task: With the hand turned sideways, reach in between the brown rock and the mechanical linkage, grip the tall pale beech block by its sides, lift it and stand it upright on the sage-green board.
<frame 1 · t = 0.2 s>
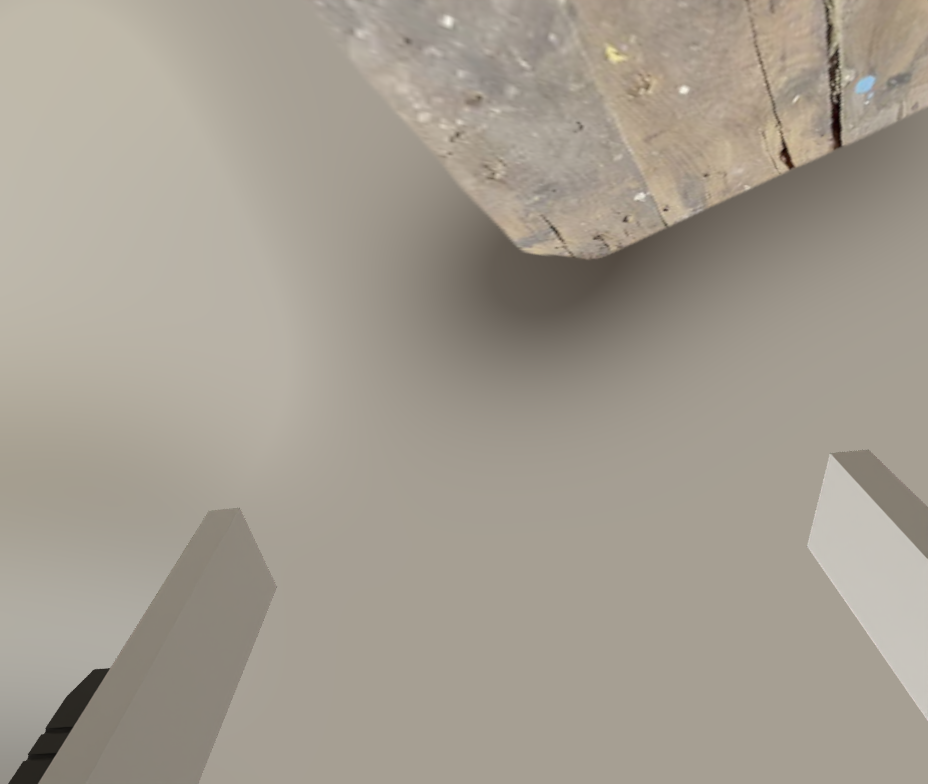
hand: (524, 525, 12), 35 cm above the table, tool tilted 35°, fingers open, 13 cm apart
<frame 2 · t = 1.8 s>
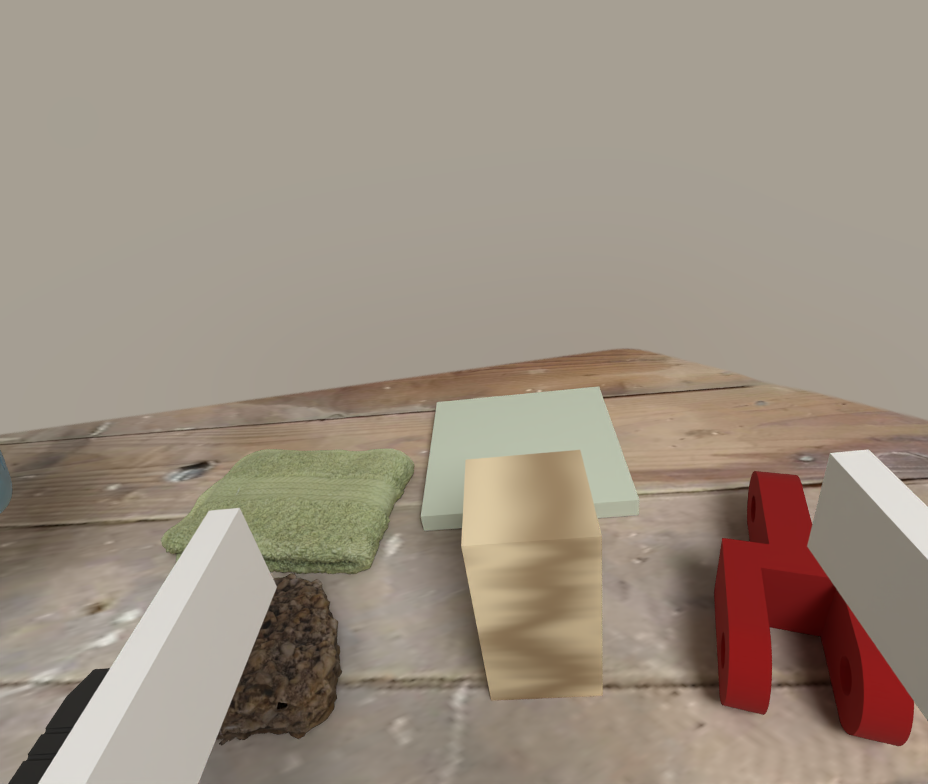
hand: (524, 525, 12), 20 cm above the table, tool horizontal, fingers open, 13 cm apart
washcloth: (300, 519, 45), on the table
beech block: (541, 647, 32), on the table
mechanical linkage: (778, 608, 32), on the table
sage board: (522, 456, 47), on the table
brown rock: (275, 673, 33), on the table
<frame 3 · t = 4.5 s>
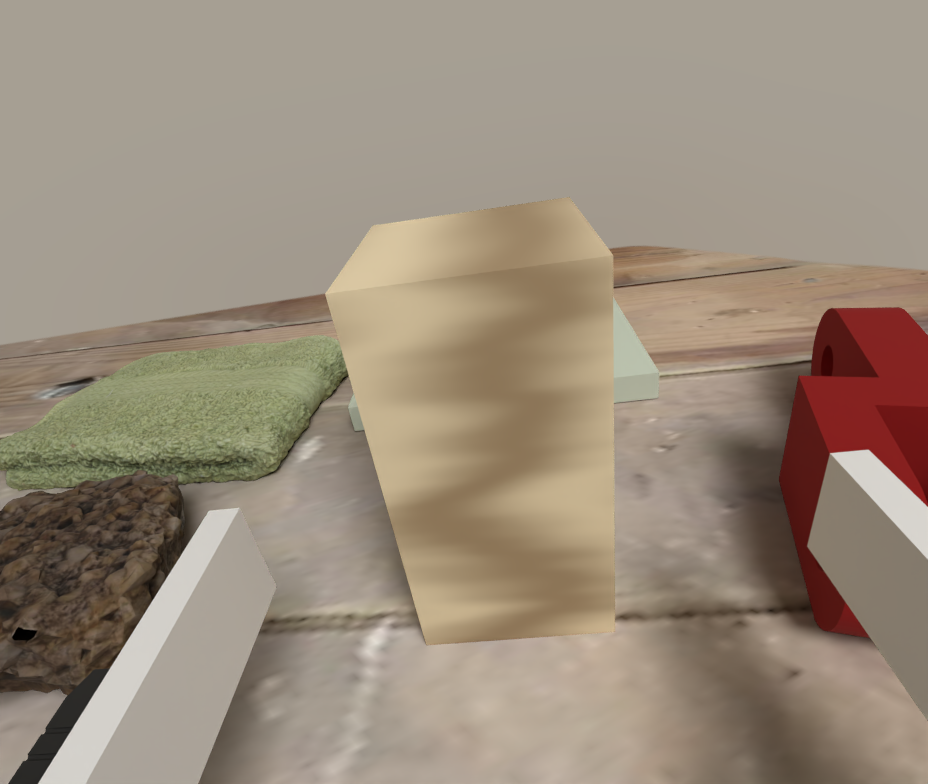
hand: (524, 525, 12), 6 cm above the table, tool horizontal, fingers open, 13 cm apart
washcloth: (196, 429, 33), on the table
beech block: (513, 564, 20), on the table
mechanical linkage: (883, 496, 20), on the table
sage board: (497, 348, 35), on the table
brown rock: (93, 609, 21), on the table
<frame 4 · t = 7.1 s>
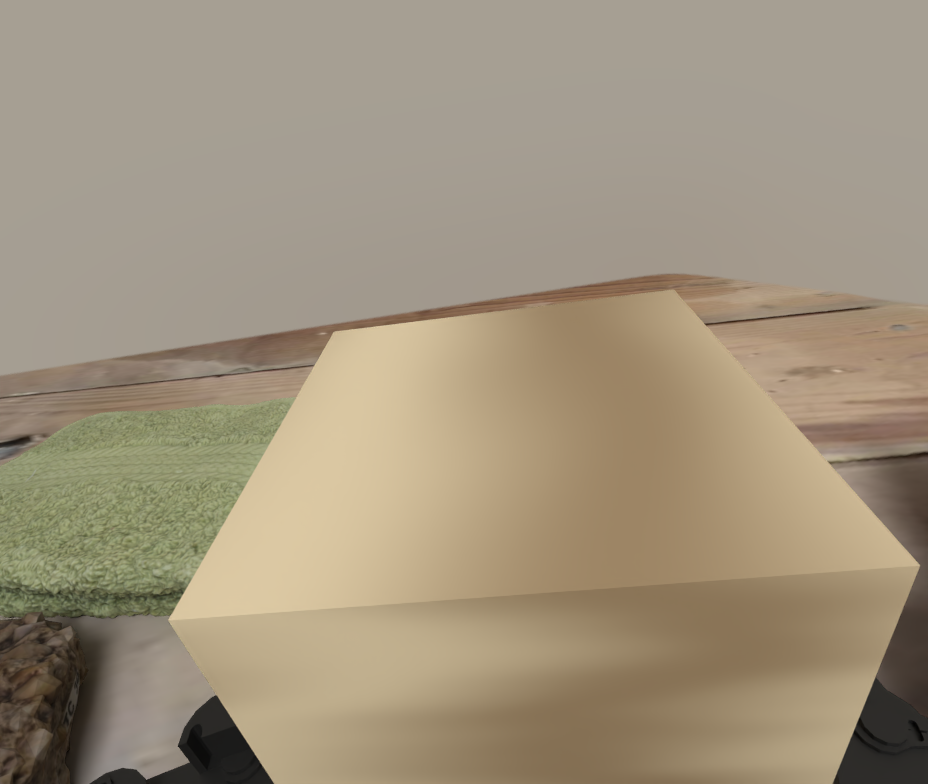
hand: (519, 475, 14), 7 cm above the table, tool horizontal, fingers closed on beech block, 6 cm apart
washcloth: (142, 519, 26), on the table
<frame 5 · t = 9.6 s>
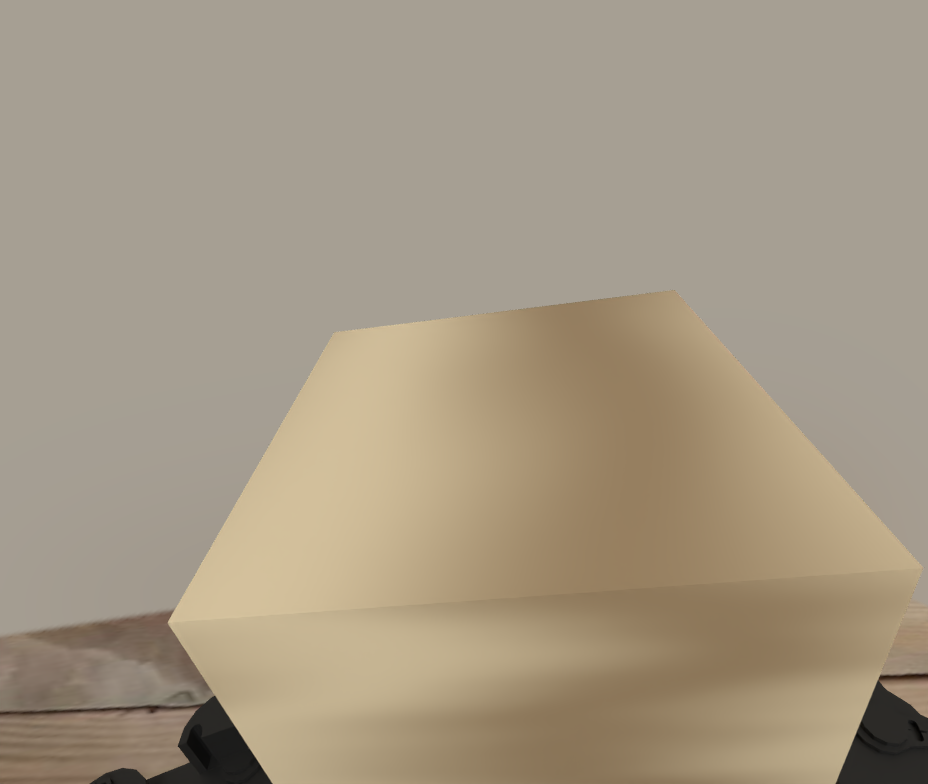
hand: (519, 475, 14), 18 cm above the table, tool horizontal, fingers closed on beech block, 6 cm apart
when the fingers open (9 cm above the table, at t = 12.0 s): beech block drops 1 cm, resting on sage board.
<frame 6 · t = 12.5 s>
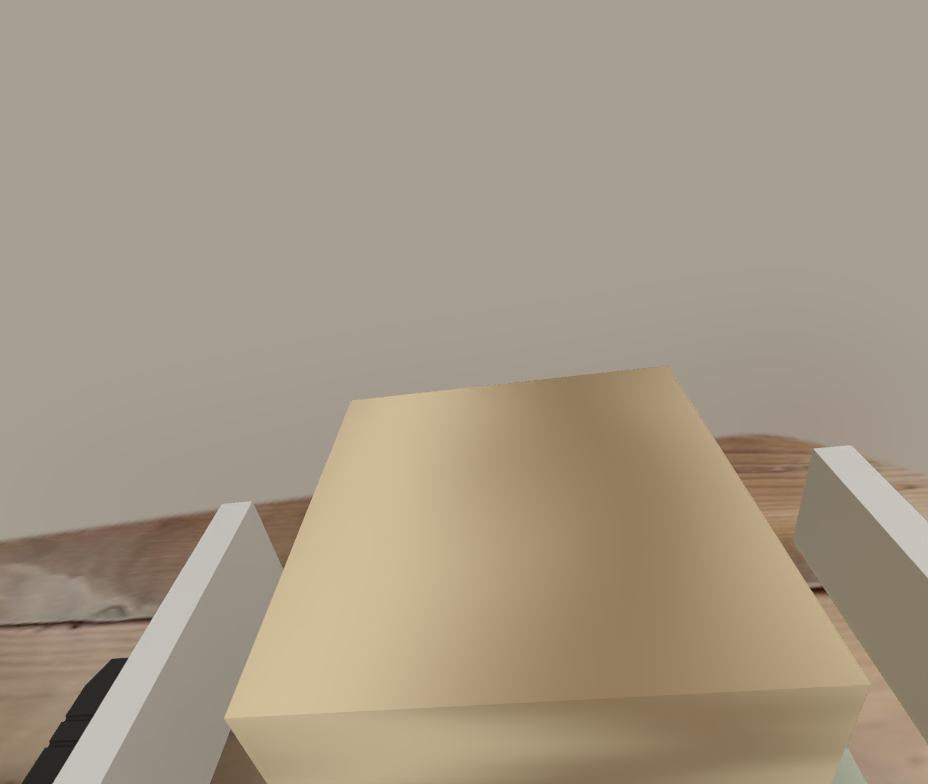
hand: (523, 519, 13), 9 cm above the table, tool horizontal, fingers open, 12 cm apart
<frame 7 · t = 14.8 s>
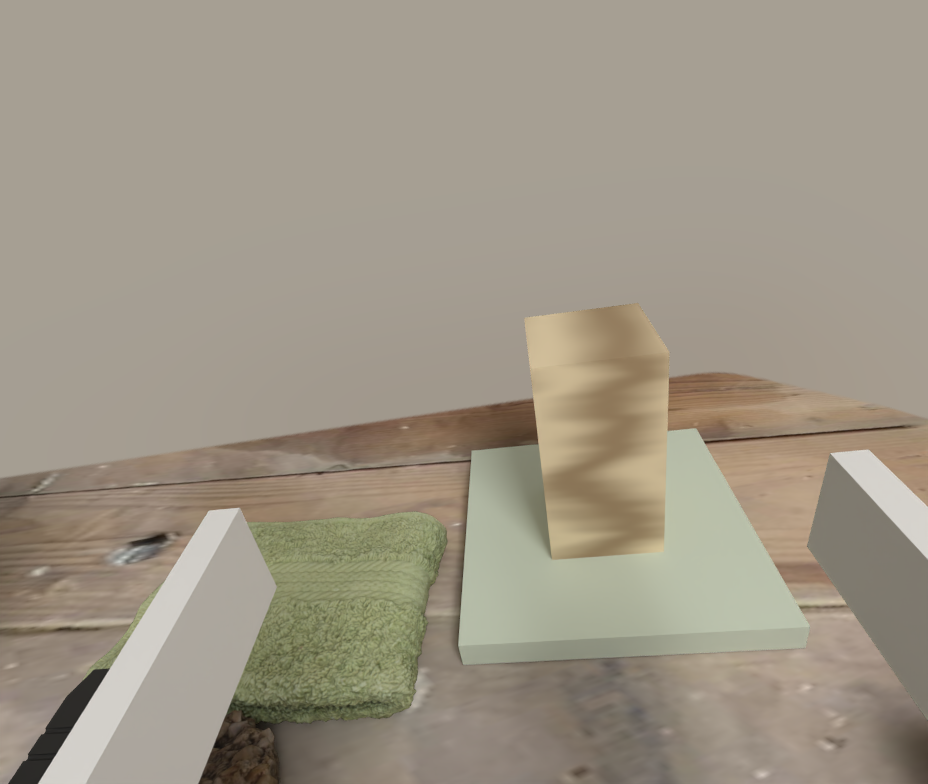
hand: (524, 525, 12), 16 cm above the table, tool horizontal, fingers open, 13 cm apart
washcloth: (293, 624, 32), on the table
beech block: (598, 517, 32), point 1 cm above the table, touching sage board
sage board: (600, 535, 33), on the table
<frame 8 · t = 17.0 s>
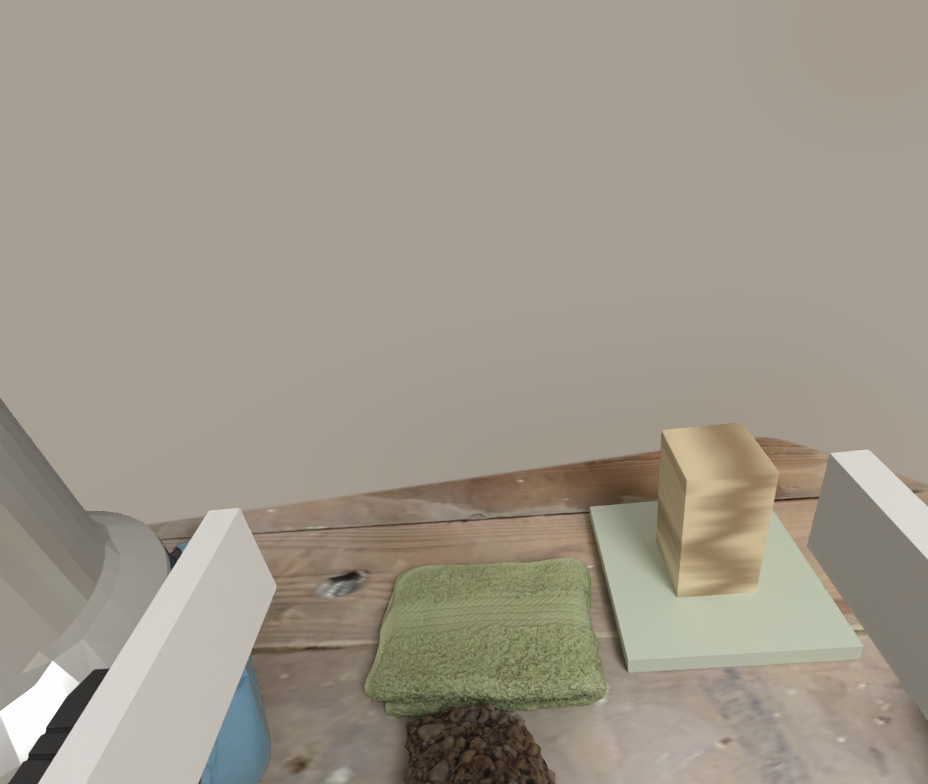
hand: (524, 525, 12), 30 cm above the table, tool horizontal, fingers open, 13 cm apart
washcloth: (488, 641, 44), on the table
beech block: (702, 565, 45), point 1 cm above the table, touching sage board
sage board: (702, 576, 46), on the table
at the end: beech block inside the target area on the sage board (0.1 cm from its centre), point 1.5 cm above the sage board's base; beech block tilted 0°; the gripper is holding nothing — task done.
